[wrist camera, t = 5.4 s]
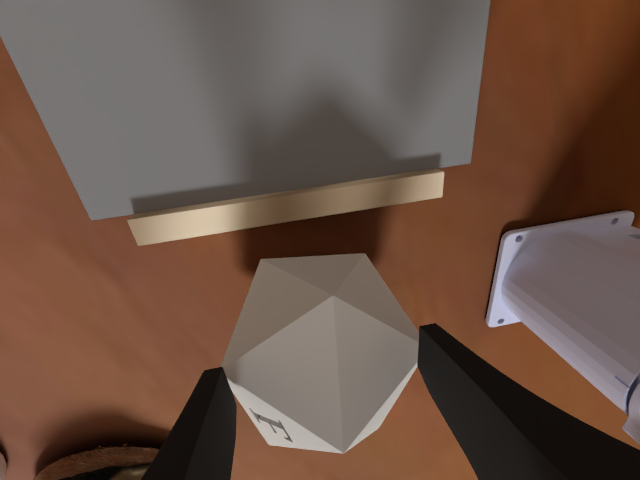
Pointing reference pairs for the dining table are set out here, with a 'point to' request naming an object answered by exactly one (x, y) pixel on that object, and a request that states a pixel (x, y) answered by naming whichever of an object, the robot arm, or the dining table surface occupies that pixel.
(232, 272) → the dining table surface
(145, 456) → the skull
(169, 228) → the stop bar
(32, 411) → the dining table surface
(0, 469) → the fruit juice
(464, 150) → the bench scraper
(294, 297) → the die
